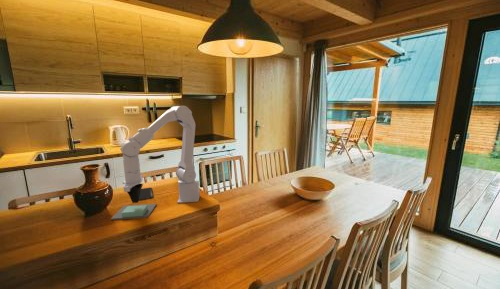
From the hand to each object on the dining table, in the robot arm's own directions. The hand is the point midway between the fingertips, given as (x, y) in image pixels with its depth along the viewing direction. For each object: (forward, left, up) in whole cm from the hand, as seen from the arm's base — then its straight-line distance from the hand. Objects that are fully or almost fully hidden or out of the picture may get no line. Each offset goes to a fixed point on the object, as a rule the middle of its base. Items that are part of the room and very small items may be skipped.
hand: (135, 202), depth 96 cm
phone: (+4, -22, -5) cm, 23 cm away
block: (0, -2, -3) cm, 4 cm away
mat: (+1, -1, -5) cm, 5 cm away
